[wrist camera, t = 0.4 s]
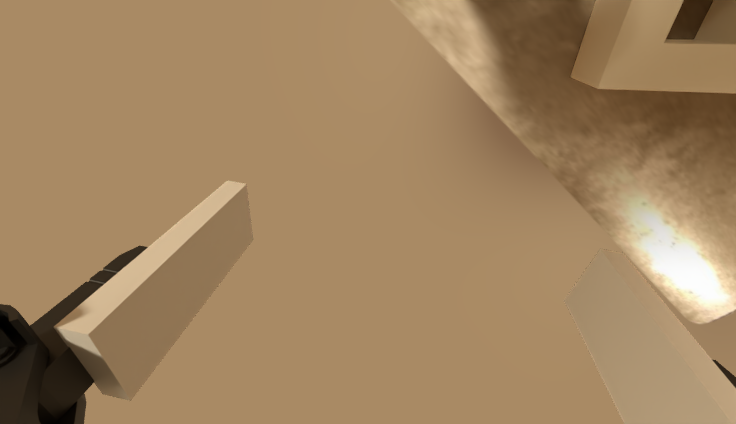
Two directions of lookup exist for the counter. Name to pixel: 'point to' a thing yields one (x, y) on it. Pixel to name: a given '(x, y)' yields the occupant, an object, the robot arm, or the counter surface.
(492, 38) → the counter surface
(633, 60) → the socket block
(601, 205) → the counter surface
